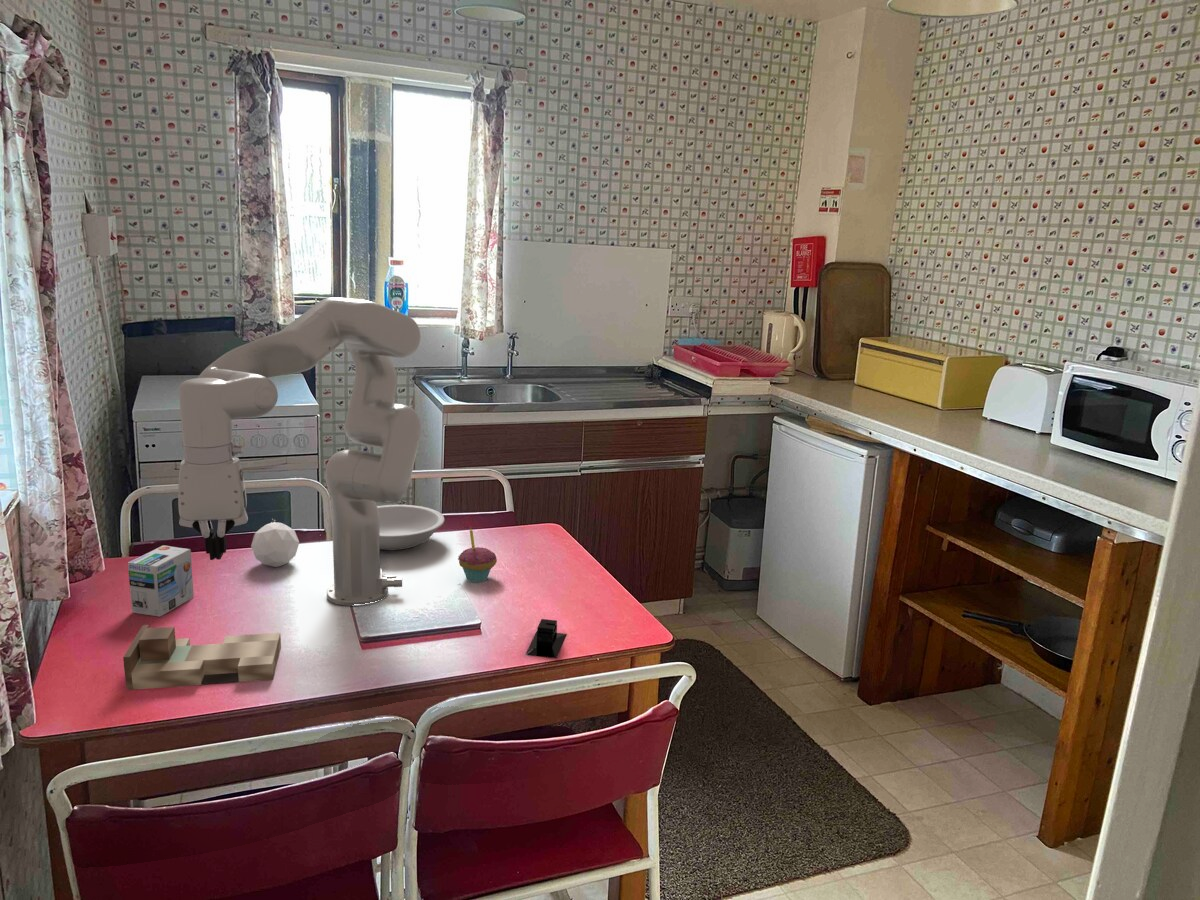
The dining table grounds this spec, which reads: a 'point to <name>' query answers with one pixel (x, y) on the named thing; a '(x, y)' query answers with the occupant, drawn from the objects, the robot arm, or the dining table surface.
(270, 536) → the ornament
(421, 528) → the soup bowl
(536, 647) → the build plate
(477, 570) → the cupcake
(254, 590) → the dining table surface
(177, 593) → the light bulb box
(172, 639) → the walnut block
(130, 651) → the track
